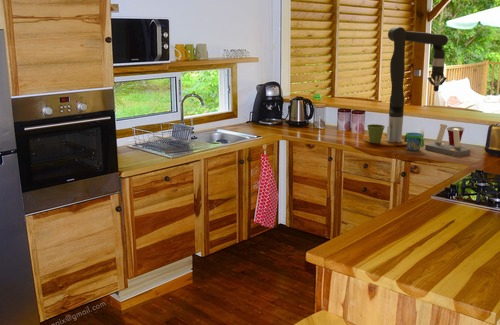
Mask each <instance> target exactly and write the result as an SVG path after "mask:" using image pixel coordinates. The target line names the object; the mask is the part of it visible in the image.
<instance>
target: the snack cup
mask: <svg viewBox="0 0 500 325" xmlns="http://www.w3.org/2000/svg"><path fill="white" fill-rule="evenodd" d="M403 142H404V143H406V149H407V150H409V151H414V152H417V151H420V150H421V148H424V147H425V139H424V134H423V133H420V132H406V133H405V135H404V138H403Z"/></svg>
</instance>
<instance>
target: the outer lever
mask: <svg viewBox="0 0 500 325" xmlns="http://www.w3.org/2000/svg"><path fill="white" fill-rule="evenodd" d="M452 131H453V134H454V148H456V149H461V148H462V146H461V141H460V137H459V131H460V129H458V128H454V129H452Z"/></svg>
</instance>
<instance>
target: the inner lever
mask: <svg viewBox="0 0 500 325" xmlns="http://www.w3.org/2000/svg"><path fill="white" fill-rule="evenodd" d="M447 128H448V125H447V124H444V123H443V124H442V123H440V125H439V131H438V133H437V137H436V140H435V141H434V143H435V144H438V145H441V144H442V143H443V139H444V136H445V132H446V130H447Z"/></svg>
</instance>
